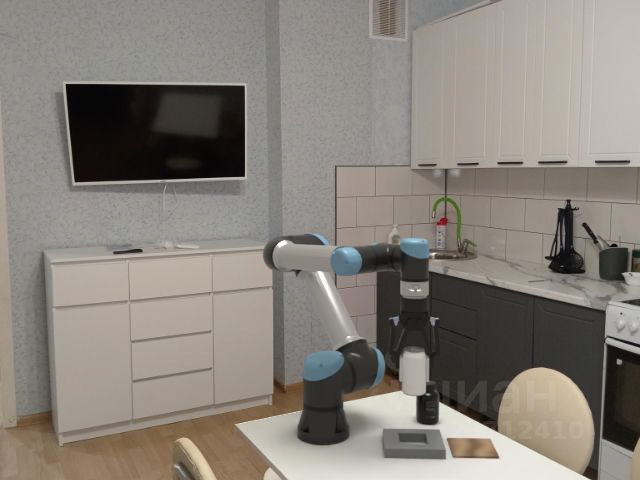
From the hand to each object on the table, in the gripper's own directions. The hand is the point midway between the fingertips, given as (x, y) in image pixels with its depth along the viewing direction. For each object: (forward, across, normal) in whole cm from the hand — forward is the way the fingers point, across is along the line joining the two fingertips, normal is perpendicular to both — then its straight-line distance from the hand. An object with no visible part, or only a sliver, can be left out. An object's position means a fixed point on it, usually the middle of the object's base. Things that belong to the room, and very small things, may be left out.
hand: (413, 380), depth 176 cm
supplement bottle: (+19, +6, +20) cm, 28 cm away
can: (+4, 0, 0) cm, 4 cm away
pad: (+19, +16, 0) cm, 25 cm away
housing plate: (+19, 0, 0) cm, 19 cm away
